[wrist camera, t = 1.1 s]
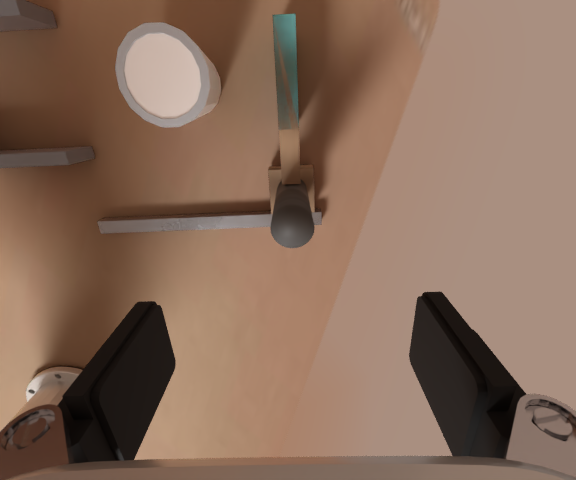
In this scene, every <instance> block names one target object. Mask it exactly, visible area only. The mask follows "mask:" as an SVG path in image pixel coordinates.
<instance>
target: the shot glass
mask: <svg viewBox="0 0 576 480" xmlns="http://www.w3.org/2000/svg"><path fill="white" fill-rule="evenodd" d="M115 71H116V76H117V81H118V85H119V90H120V91H121V93H122V95H123V96H124V98H125V100H126V102H127V103H128V105H129V107H130V108H131V109H132V110H133V111H135V112H136V113H137V114H138V115H139V116H140V117H141V118H143V119H144V120H145V121H147V122H150V123H152V124H155V125H157V126H160V127H181V126H183V125H185V124H187V123H189V122H191V121H193V120H195V119H197V118H199V117H201V116H203V115H205V114H207V113H209V112H211V111H212V110H213V109H214V107H215V106H216V105H217V103H218V101H219V97H220V94H221V82H220V76H219V74H218V72H217V70H216V68H215V66H214V64H213V63H212V62H211V61H210V60H209V58H208V57H207V56H206V55H205V54H204V53H203V51H202V50H201V49H200V48H199V47H198V46H197V45H196V44H195V43H194V42H193V41H192V39H191V38H190V37H189V36H188V35H187V34H186V33H185V32H184V31H182V30H180V29H178V28H175V27H173V26H171V25H169V24H166V23H164V22H160V23H143V24H142V25H140V26H138V27H136V28H135V29H133V30H131V31H129V32H128V33H127V35H126V36H125V38H124V40H123V41H122V43H121V44H120V46H119V47H118V51H117V58H116V65H115Z"/></svg>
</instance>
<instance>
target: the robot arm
mask: <svg viewBox="0 0 576 480" xmlns="http://www.w3.org/2000/svg"><path fill="white" fill-rule="evenodd" d="M409 357H410V362H411V365H412V367H413V369H414V372H415V374H416V376H417V378H418V381H419V383H420V385H421V387H422V389H423V392H424V394H425V396H426V398H427V400H428V402H429V405H430V407H431V409H432V411H433V413H434V415H435V418H436V420H437V422H438V425H439V427H440V429H441V431H442V433H443V436H444V438H445V440H446V442H447V444H448V446H449V449H450V451H451V453H452V455H453V456H346V457H345V456H343V457H342V456H336V457H335V456H334V457H261V458H204V459H156V460H134V458H135V456H136V454H137V452H138V449H139V447H140V445H141V443H142V441H143V438H144V436H145V434H146V432H147V429H148V427H149V425H150V423H151V421H152V418H153V416H154V414H155V412H156V410H157V407H158V405H159V403H160V401H161V398H162V396H163V394H164V392H165V390H166V387H167V385H168V383H169V381H170V379H171V376H172V374H173V372H174V369H175V357H174V353H173V349H172V346H171V342H170V338H169V334H168V330H167V327H166V323H165V319H164V315H163V311H162V308H161V306H160V305H157V304H156V302H154V301H148V302H137V303H136V304H135V305H134V307H133V308H132V309H131V310H130V312H129V313H128V314H127V315H126V317H125V318H124V319H123V320H122V322H121V323H120V324H119V325H118V327H117V328H116V329H115V330H114V332H113V333H112V334H111V335H110V337H109V338H108V339H107V340H106V342H105V343H104V344H103V345H102V347H101V348H100V349H99V351H98V352H97V353H96V354H95V356H94V357H93V358H92V359H91V361H90V362H89V363H88V364H87V366H86V367H85V368H84V369H83V370H82V369H78V368H73V367H53V368H49V369H46V370H43V371H42V372H40V373H38V374H37V375H36V376H35V377H34V378H33V379H32V380H31V381H30V383H29V384H28V386H27V388H26V398H27V403H26V404H25V405H24V406H23V408H22V409H21V410H20V411H19V412H18V413H17V414H16V415H15V416H14V418H13V419H12V420H11V421H10V422H9V423H8V424H7V425H6V426H5V427H4V428H3V429H2V430H1V432H0V480H576V411H575V410H573V409H572V408H571V407H569V406H568V405H566V404H564V403H562V402H560V401H558V400H557V399H554V398H551V397H548V396H545V395H540V394H526V393H525V392H524V391H523V390H522V389H521V387H520V386H519V385H518V383H517V382H516V381H515V380H514V378H513V377H512V376H511V375H510V373H509V372H508V371H507V370H506V369H505V367H504V366H503V365H502V364H501V362H500V361H499V360H498V359H497V357H496V356H495V355H494V354H493V352H492V351H491V350H490V349H489V347H488V346H487V345H486V344H485V342H484V341H483V340H482V339H481V338H480V336H479V335H478V334H477V333H476V332H475V331H474V330H472V329H471V328H470V327H469V325H468V324H467V323H466V322H465V321H464V319H463V318H462V317H461V315H460V314H459V313H458V312H457V310H456V309H455V308H454V307H453V305H452V304H451V303H450V302H449V300H448V299H447V298H446V297H445V295H444V294H443V293H442V292H424V293H423V294H422V296H421V297H418V298H417V304H416V311H415V318H414V325H413V332H412V339H411V346H410V353H409Z"/></svg>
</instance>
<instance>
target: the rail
mask: <svg viewBox="0 0 576 480" xmlns="http://www.w3.org/2000/svg"><path fill="white" fill-rule="evenodd" d="M272 215H273V214H271V211H254V212H231V213H207V214H184V215H160V216H136V217H113V218H102V219H101V220H99V221H97V223H98V226H99V229H100V232H101V234H105V233H129V232H154V231H178V230H203V229H227V228H251V227H271V220H272ZM312 217H313V222H314V225H322V217H321V209H315V212H312Z"/></svg>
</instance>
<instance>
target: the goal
mask: <svg viewBox="0 0 576 480" xmlns="http://www.w3.org/2000/svg"><path fill="white" fill-rule="evenodd" d="M50 28H57V25H56V21H55V18H54V14H53V11H50V10H48V9H45V8H43V7H41V6H38V5H36V4H33V3H31V2H28V1H26V0H0V31H16V30H33V29H50ZM91 159H95V156H94V152H93V149H92V146H85V147H65V148H44V149H24V150H3V151H0V168H15V167H36V166H57V165H71V164H75V163H79V162H83V161H87V160H91Z"/></svg>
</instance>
